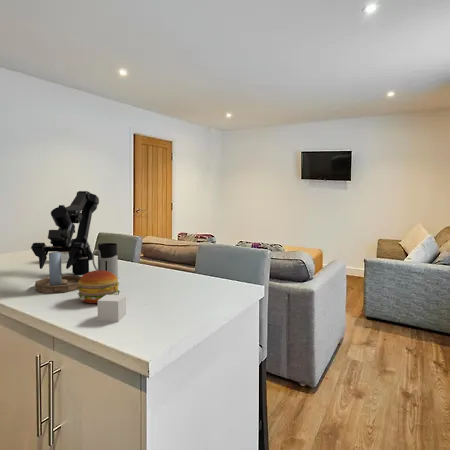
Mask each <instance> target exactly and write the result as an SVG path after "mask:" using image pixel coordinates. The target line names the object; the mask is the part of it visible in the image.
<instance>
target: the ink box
mask: <svg viewBox="0 0 450 450" xmlns="http://www.w3.org/2000/svg"><path fill="white" fill-rule="evenodd" d="M72 239H73V238H72ZM72 239H71V240H72ZM70 244H71V243H70ZM69 247H70V246H69ZM68 259H69V253H68V252H61V264H67V262H68Z"/></svg>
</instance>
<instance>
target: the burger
mask: <svg viewBox="0 0 450 450" xmlns="http://www.w3.org/2000/svg"><path fill="white" fill-rule="evenodd" d="M78 284H79V285H78V286H77V287H79V290H78V291H79V292H78V293H77V295H78V297H79V300H80V301H82V302H83V303H86V304H98V300H99V299H101V298H102V297H104V296H105V295H120V293H121V291H120V289H119V285H120V282H119V280H118V279H117V277H116V275H115V274H113V273H111V272H109V271H104V270H96V269H95V270H92V271H89V272H88V273H86V274H83V275H82V276H81V278H80V279H79V282H78Z"/></svg>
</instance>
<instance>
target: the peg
mask: <svg viewBox="0 0 450 450" xmlns="http://www.w3.org/2000/svg"><path fill="white" fill-rule="evenodd" d="M48 268H49V269H48V272H49V276H48V277H50V286H59V285H62V276H63V274H62V272H63V271H62V263H61V252H48Z"/></svg>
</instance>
